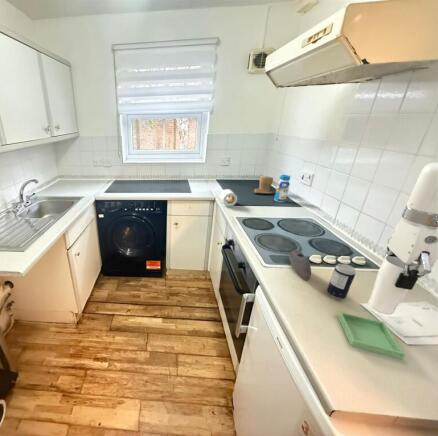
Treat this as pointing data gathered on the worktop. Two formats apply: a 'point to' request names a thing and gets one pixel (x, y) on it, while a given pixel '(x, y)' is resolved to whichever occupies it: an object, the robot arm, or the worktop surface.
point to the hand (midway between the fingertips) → (394, 278)
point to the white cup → (388, 286)
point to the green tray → (370, 335)
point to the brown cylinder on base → (264, 185)
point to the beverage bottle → (282, 188)
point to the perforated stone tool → (300, 264)
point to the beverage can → (341, 281)
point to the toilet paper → (231, 200)
